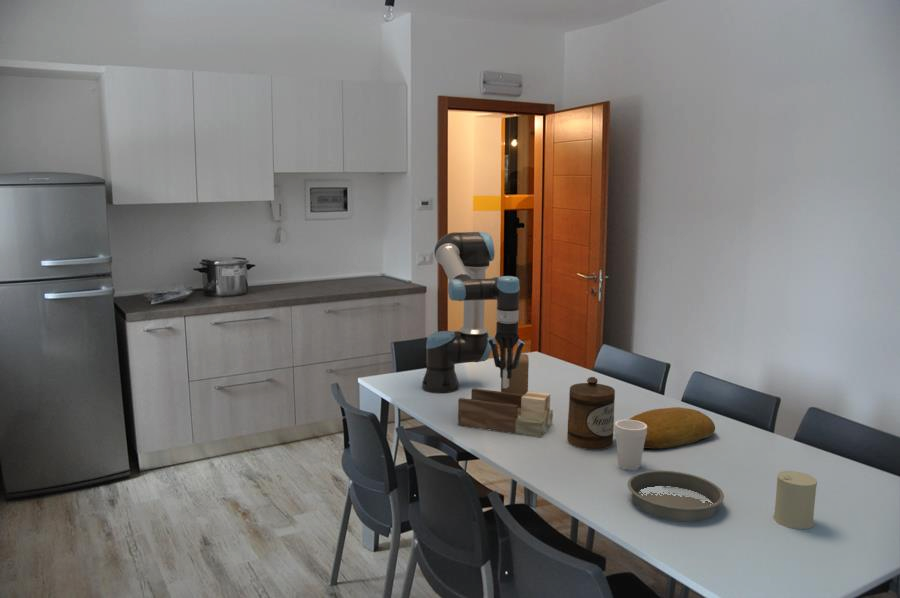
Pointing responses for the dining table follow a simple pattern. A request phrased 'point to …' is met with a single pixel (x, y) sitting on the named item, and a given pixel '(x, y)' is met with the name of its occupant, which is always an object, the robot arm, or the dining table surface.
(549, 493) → the dining table surface
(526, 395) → the birch block
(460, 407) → the chute
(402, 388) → the dining table surface
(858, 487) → the dining table surface
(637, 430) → the foam cup
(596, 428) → the wooden container
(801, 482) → the can
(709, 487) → the cake pan
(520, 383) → the wooden block
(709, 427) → the bread
